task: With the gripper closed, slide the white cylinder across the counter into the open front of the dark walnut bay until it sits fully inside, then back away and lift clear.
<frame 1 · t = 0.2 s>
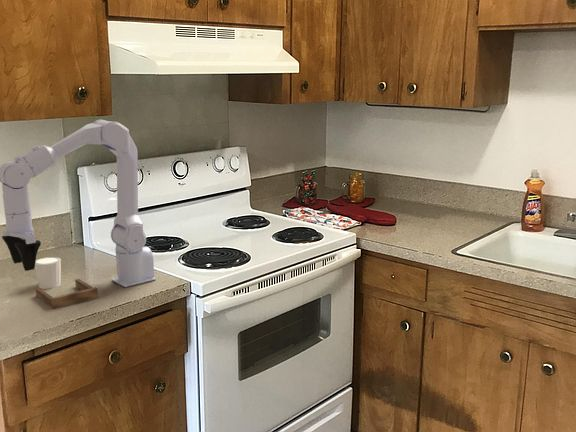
hand: (24, 266, 153), 10 cm above the worktop, fingers open, 7 cm apart
walnut bay: (65, 295, 161), on the worktop
white cylinder: (49, 285, 170), on the worktop
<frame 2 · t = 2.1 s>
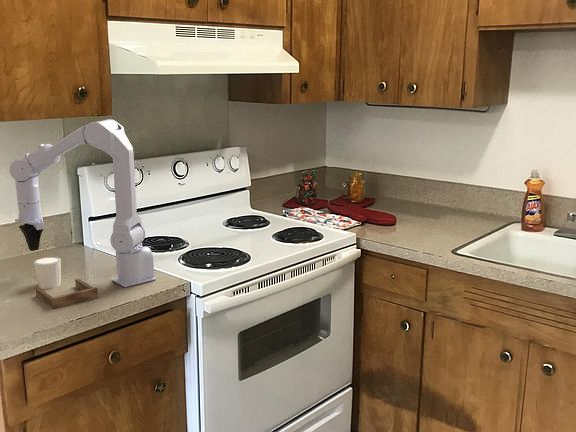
hand: (34, 249, 175), 8 cm above the worktop, fingers closed
nothing on the worktop moved.
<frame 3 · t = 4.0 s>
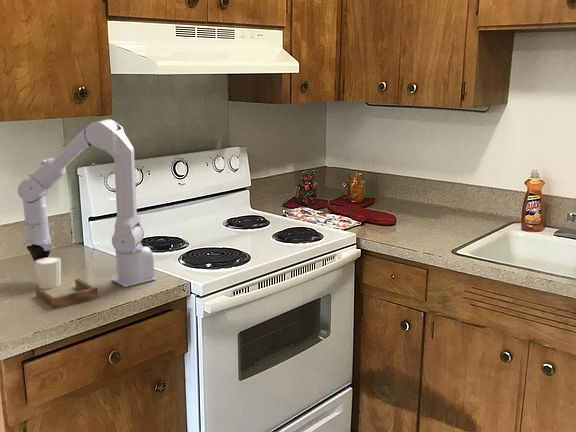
hand: (41, 270, 173), 3 cm above the worktop, fingers closed
white cylinder: (49, 285, 170), on the worktop, touching gripper
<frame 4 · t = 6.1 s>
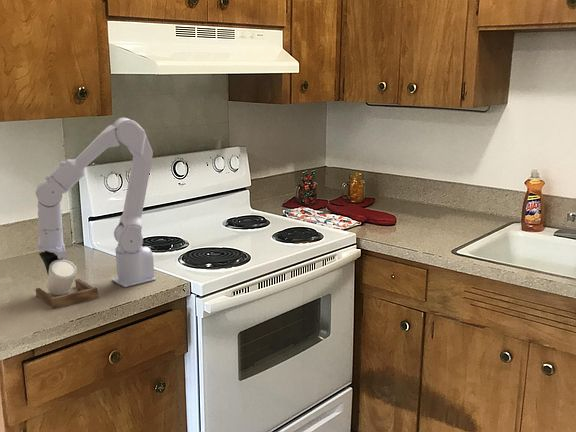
hand: (53, 278, 164), 4 cm above the worktop, fingers closed, pressing on white cylinder
white cylinder: (58, 287, 164), point 1 cm above the worktop, touching gripper
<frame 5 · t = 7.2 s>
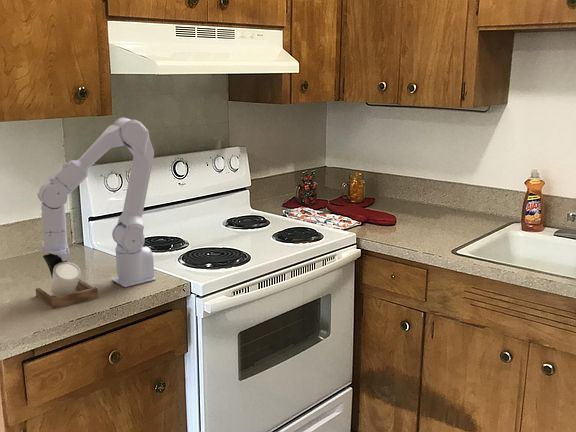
hand: (57, 281, 162), 4 cm above the worktop, fingers closed, pressing on white cylinder
white cylinder: (62, 290, 162), point 1 cm above the worktop, touching gripper
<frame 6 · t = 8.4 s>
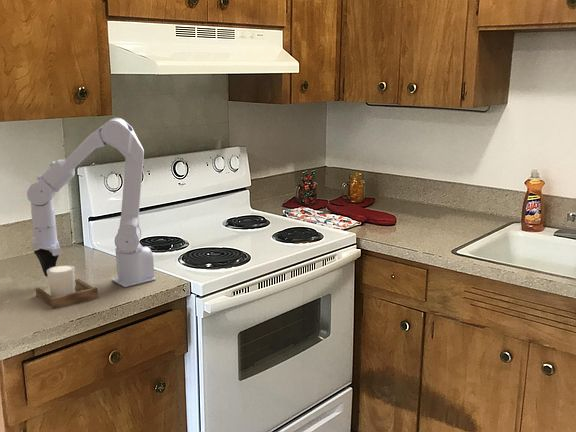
hand: (49, 275, 168), 3 cm above the worktop, fingers closed
white cylinder: (63, 295, 162), on the worktop
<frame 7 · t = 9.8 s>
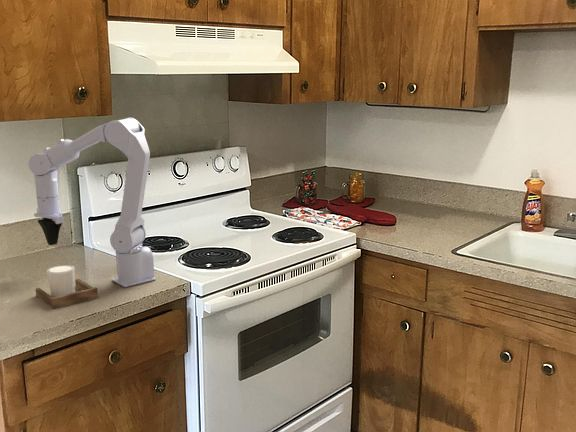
hand: (52, 244, 174), 9 cm above the worktop, fingers closed
nothing on the worktop moved.
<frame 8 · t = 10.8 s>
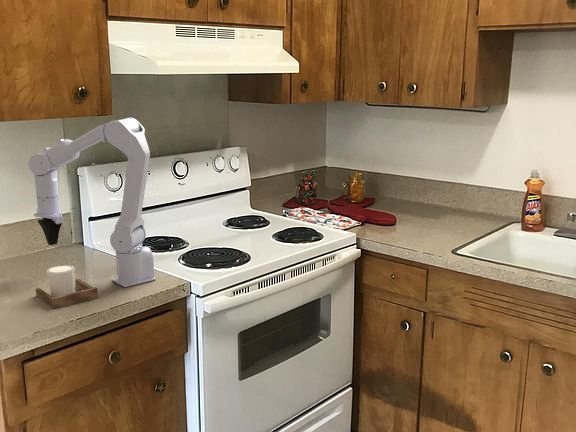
hand: (52, 244, 174), 9 cm above the worktop, fingers closed
nothing on the worktop moved.
at the end: white cylinder 1.7 cm off-centre on the walnut bay, point 0.0 cm above the walnut bay's base; white cylinder tilted 0° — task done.
